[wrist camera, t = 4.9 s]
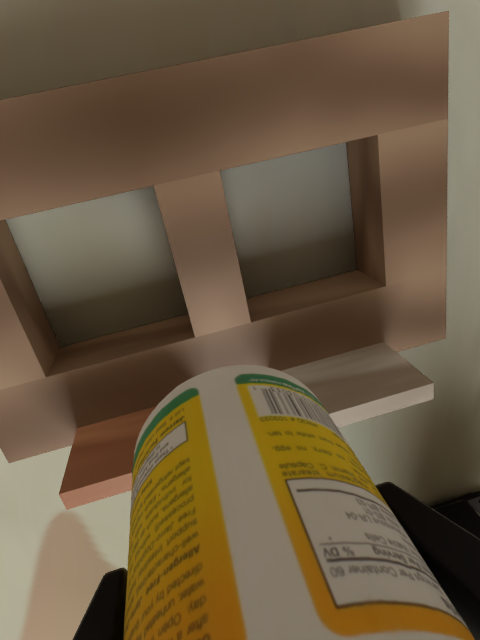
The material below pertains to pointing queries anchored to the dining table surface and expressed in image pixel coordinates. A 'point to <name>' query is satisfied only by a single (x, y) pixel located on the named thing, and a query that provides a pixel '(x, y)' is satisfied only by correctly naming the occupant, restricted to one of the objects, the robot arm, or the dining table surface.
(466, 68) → the dining table surface
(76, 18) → the dining table surface
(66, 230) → the dining table surface
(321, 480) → the supplement bottle
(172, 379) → the socket board
